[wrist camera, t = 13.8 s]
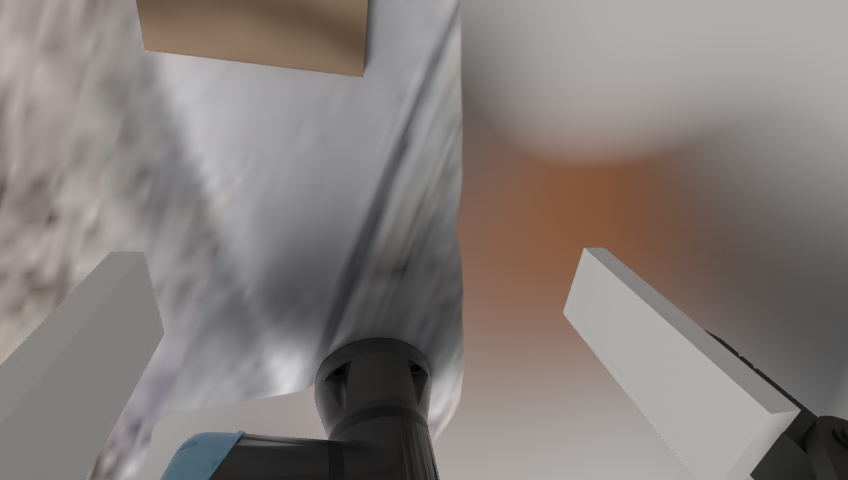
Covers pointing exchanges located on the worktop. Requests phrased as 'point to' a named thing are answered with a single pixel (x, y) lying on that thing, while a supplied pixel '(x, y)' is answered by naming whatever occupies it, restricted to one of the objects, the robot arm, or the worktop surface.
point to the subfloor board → (261, 31)
